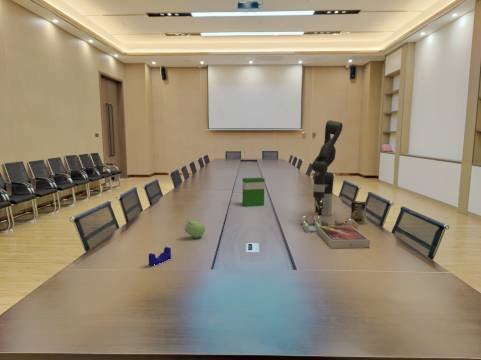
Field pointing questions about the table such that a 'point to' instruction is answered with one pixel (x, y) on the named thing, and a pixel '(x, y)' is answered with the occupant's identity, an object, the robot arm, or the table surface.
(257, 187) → the hardback book
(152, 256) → the cable clip
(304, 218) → the cell
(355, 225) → the grey piece
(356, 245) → the product packaging
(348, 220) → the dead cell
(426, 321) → the table surface
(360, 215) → the coffee box
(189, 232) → the green round fruit
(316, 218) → the cell
